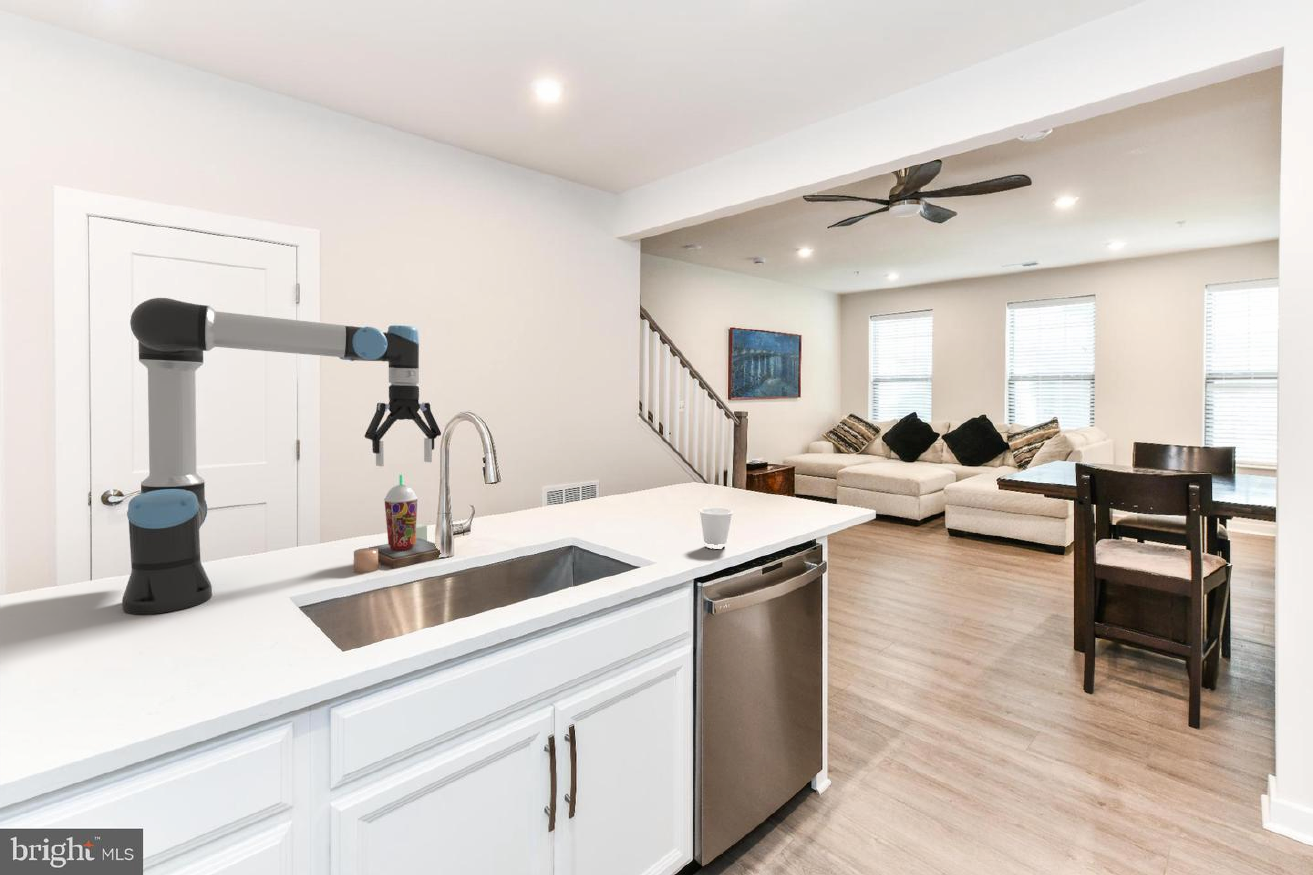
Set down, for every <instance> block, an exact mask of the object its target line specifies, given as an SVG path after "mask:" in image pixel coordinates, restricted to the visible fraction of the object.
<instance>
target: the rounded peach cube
mask: <svg viewBox="0 0 1313 875" xmlns="http://www.w3.org/2000/svg"><path fill="white" fill-rule="evenodd" d="M377 571H379V563H378V549H376V548H369V547H364V548H362V547H361V548H359V549H355V550H354V551H353V572H354V573H355V574H356V573H357V574H370V573H373V572H374V573H375V572H377Z"/></svg>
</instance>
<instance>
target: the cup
mask: <svg viewBox="0 0 1313 875" xmlns="http://www.w3.org/2000/svg"><path fill="white" fill-rule="evenodd" d="M698 512H699V513H700V514H699V515H700V522H701V528H702V534H703V535H702V536H703V543H704V542H705V543H707V544H714V545H718V544H725V543H726V544H727V541H728V535H729V530H730V525H731V520H732V516H733V513H734V511H733V510H731V509H728V508H724V507H704V508H701V509H699V510H698Z"/></svg>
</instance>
